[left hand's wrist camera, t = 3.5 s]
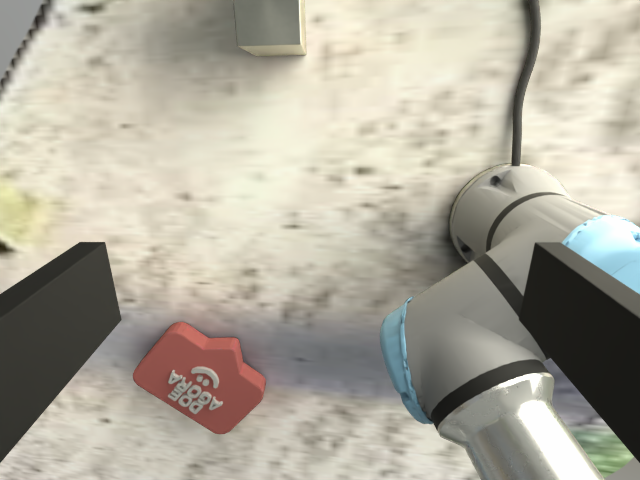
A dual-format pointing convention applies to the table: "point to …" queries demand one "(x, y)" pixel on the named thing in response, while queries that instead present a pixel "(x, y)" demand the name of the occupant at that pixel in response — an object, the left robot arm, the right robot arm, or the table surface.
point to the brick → (271, 27)
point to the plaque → (201, 377)
